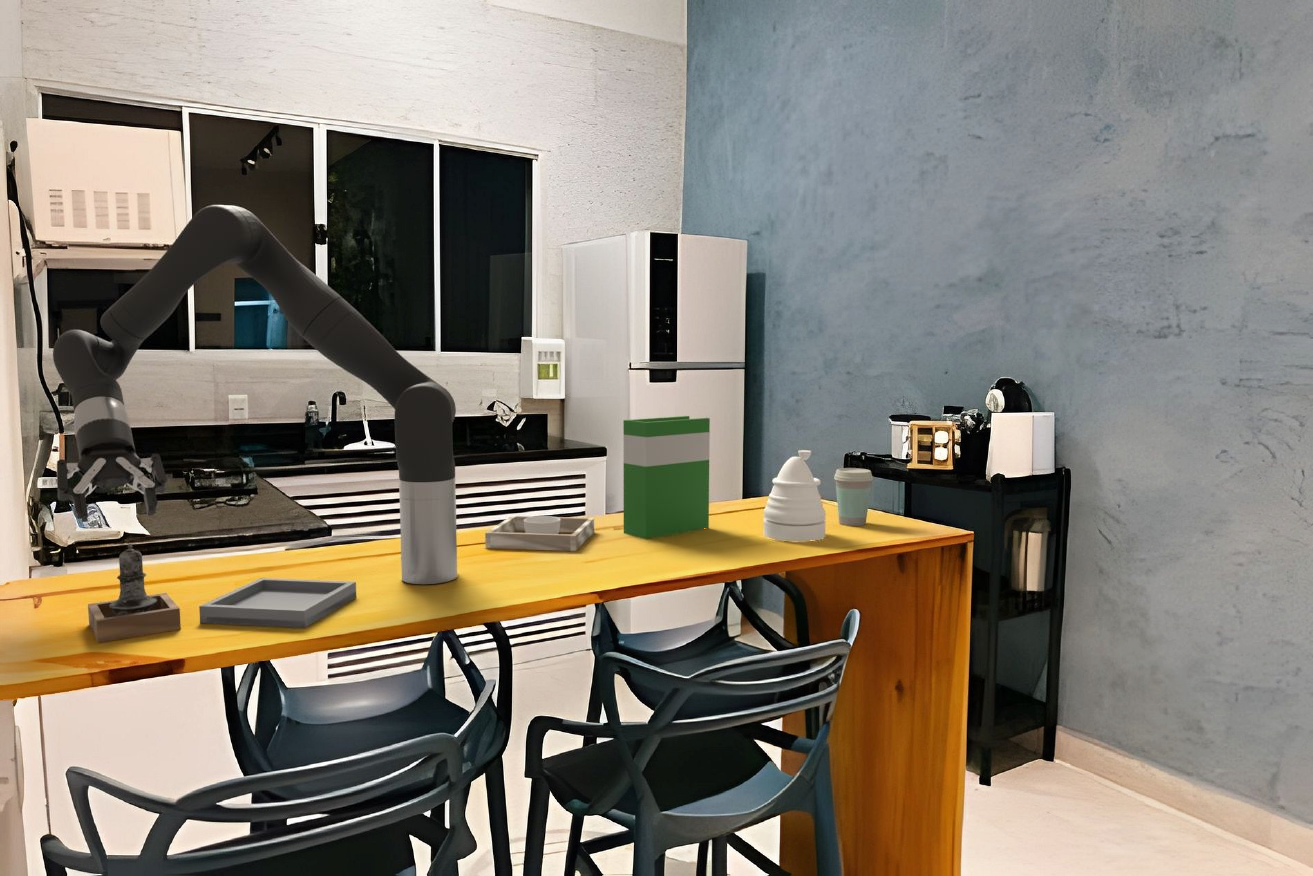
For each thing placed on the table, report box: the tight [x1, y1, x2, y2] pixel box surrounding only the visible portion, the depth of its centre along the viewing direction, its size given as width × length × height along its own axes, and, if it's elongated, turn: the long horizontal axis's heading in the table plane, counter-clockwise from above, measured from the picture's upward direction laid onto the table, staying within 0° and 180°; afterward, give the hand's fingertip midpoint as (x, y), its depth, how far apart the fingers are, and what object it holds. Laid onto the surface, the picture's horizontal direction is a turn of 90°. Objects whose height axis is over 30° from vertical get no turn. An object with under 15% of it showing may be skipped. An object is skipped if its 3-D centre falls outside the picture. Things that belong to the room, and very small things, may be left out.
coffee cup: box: [833, 467, 874, 527], centre depth 208 cm, size 8×9×12 cm
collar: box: [87, 592, 182, 644], centre depth 132 cm, size 10×10×3 cm
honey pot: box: [762, 449, 826, 541], centre depth 194 cm, size 13×13×18 cm
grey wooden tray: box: [484, 515, 595, 552], centre depth 190 cm, size 18×18×3 cm
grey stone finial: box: [109, 543, 157, 616], centre depth 131 cm, size 6×6×12 cm
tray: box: [198, 577, 357, 629], centre depth 140 cm, size 16×16×2 cm
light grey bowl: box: [524, 515, 561, 534], centre depth 189 cm, size 10×10×5 cm
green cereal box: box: [623, 415, 711, 540], centre depth 199 cm, size 18×7×24 cm, turn 130°
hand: (118, 515), depth 138 cm, fingers open, 8 cm apart
